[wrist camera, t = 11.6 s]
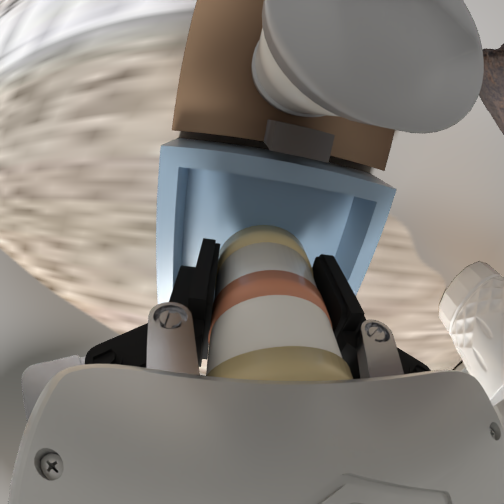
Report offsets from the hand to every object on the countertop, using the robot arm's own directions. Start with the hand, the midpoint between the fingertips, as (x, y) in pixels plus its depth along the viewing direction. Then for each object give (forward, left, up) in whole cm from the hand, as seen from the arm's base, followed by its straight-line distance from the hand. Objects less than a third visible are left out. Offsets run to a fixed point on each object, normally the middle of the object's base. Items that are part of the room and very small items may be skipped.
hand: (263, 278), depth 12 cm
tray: (0, 0, -4) cm, 4 cm away
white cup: (-19, +2, -4) cm, 20 cm away
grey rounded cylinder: (0, -9, -2) cm, 9 cm away
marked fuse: (0, 0, -1) cm, 1 cm away
